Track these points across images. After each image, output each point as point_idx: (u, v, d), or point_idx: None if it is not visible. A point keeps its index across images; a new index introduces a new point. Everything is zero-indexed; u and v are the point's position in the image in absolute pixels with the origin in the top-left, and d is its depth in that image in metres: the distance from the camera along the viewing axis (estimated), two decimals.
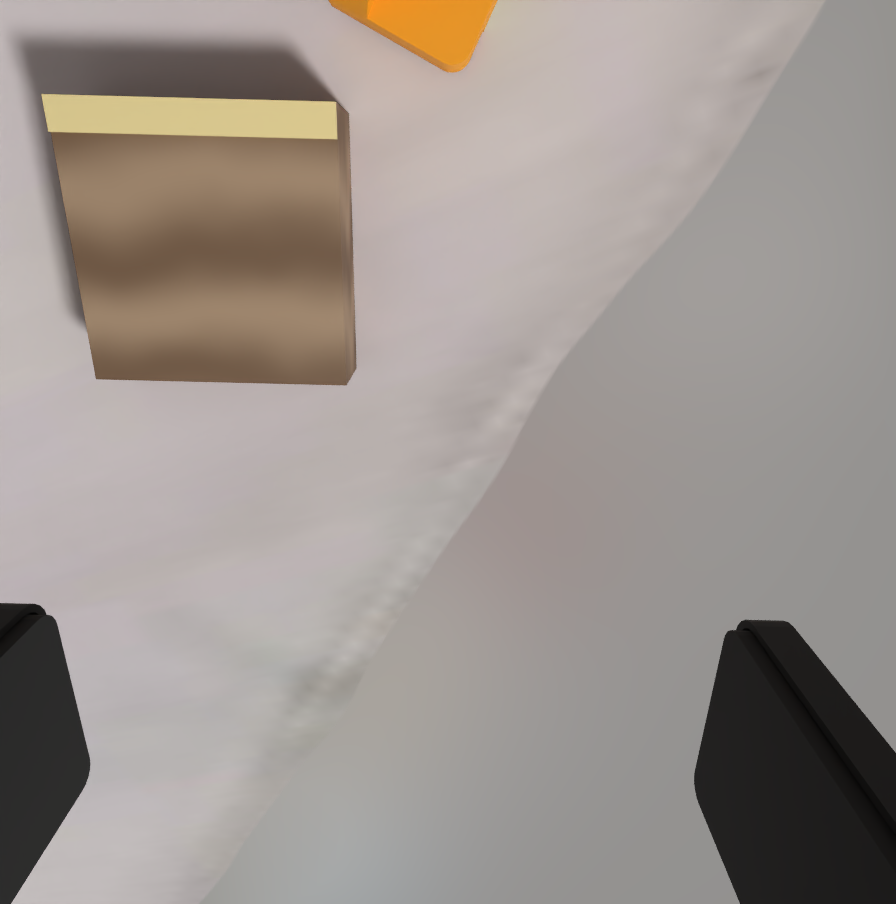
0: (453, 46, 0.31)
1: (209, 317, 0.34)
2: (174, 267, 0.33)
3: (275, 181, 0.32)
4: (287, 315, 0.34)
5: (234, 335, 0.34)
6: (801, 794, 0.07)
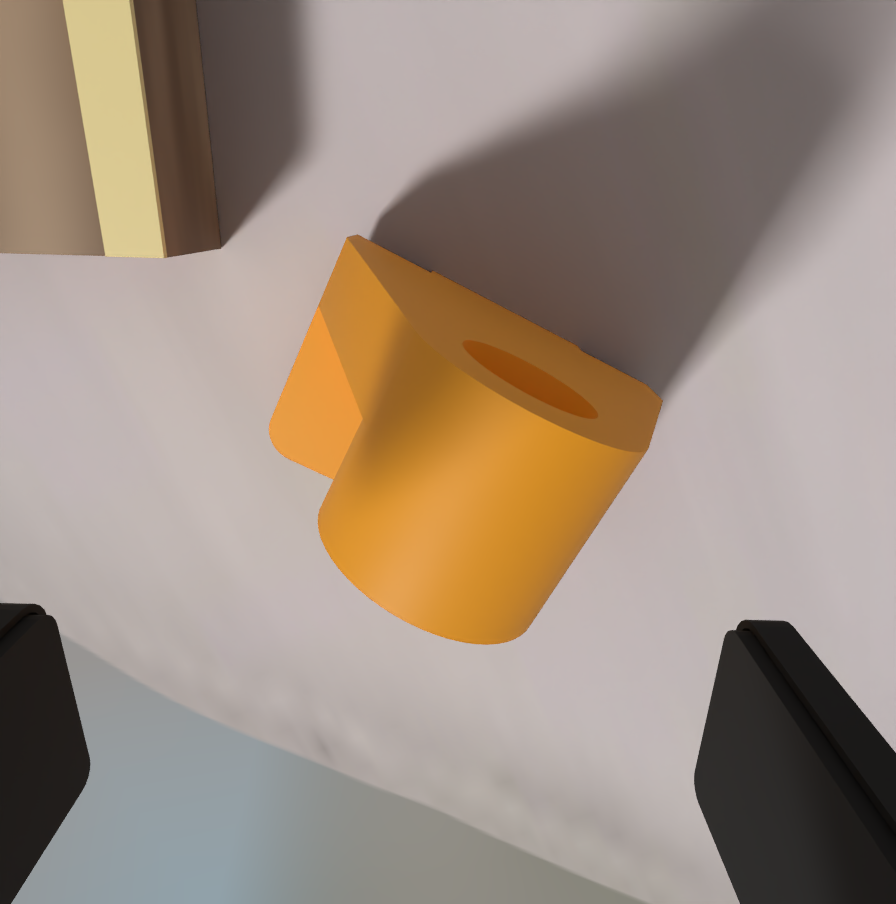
0: (293, 434, 0.20)
1: None
2: None
3: (11, 123, 0.16)
4: None
5: None
6: (801, 794, 0.07)
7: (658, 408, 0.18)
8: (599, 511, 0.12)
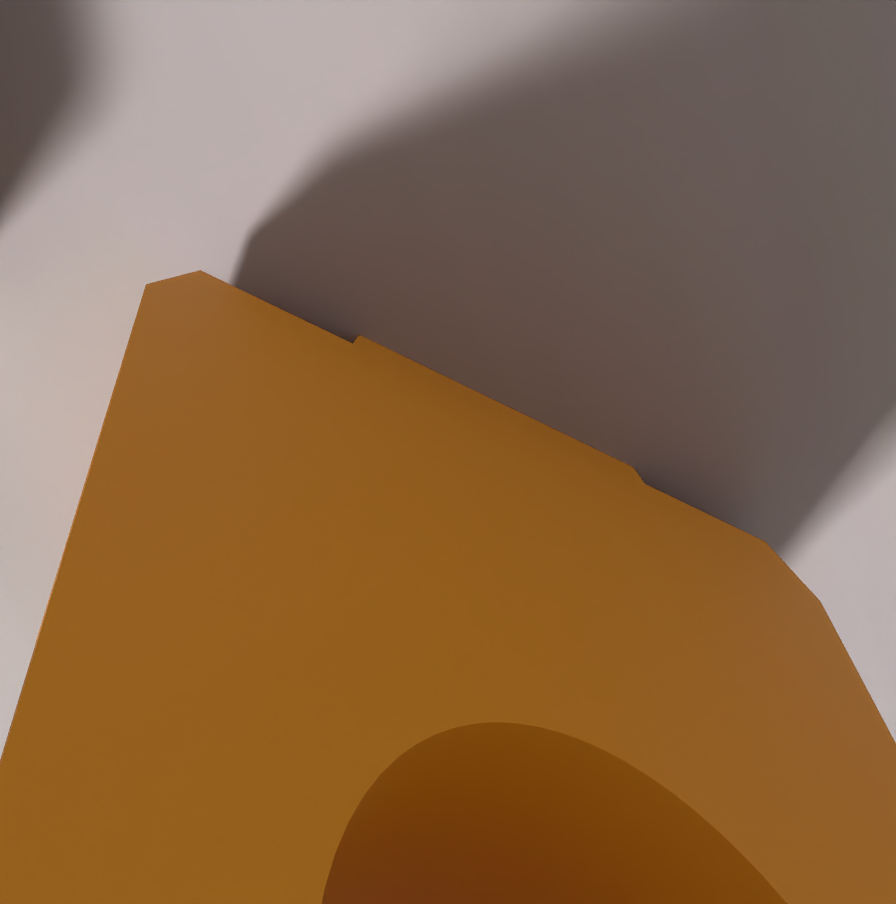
0: None
1: None
2: None
3: None
4: None
5: None
6: None
7: (855, 671, 0.08)
8: None
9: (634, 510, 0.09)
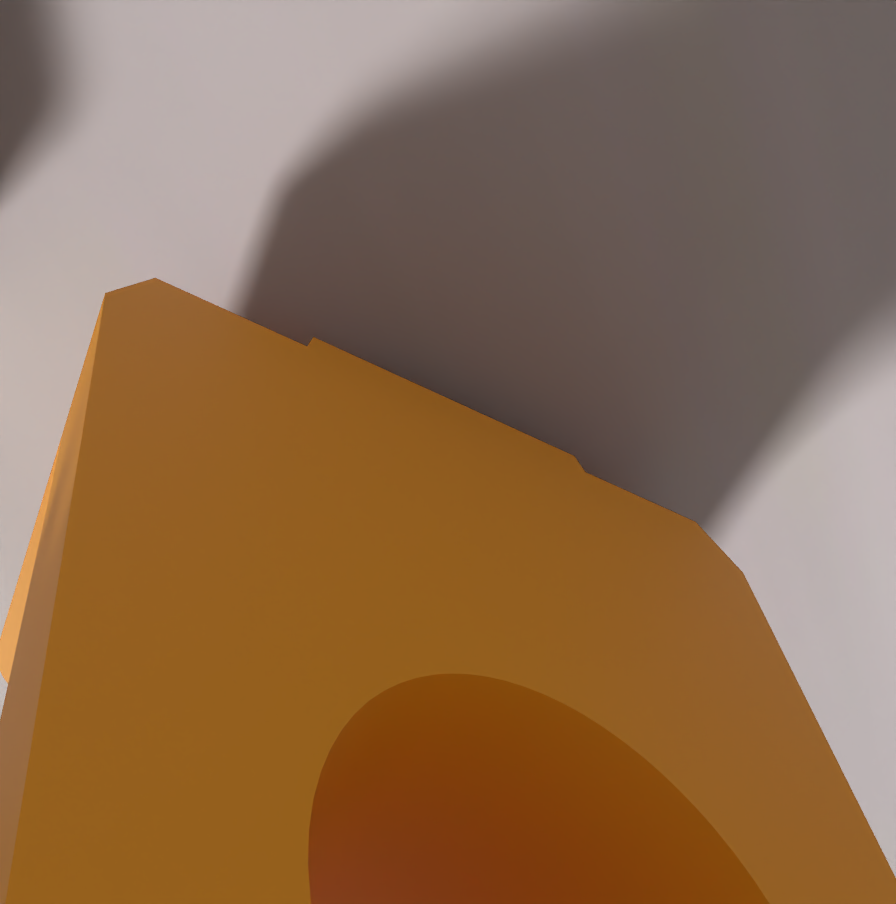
0: None
1: None
2: None
3: None
4: None
5: None
6: None
7: (769, 630, 0.09)
8: None
9: (575, 496, 0.10)
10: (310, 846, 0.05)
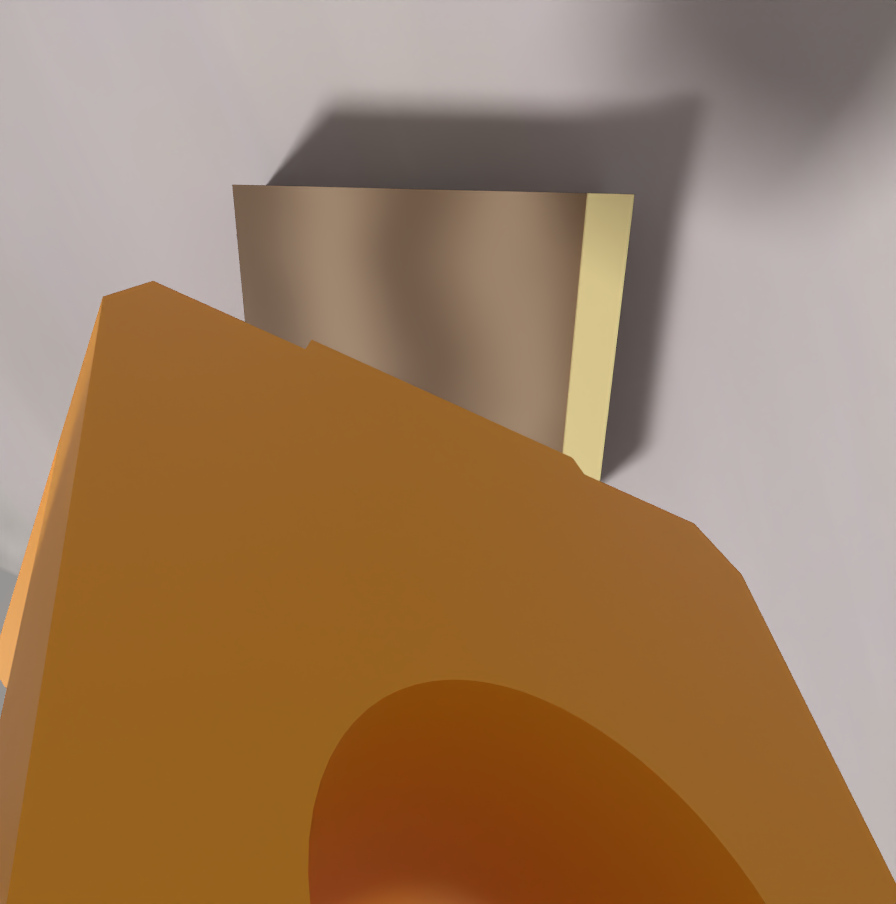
0: None
1: None
2: (408, 338, 0.24)
3: None
4: None
5: None
6: None
7: (768, 633, 0.09)
8: None
9: (574, 498, 0.10)
10: (310, 853, 0.05)
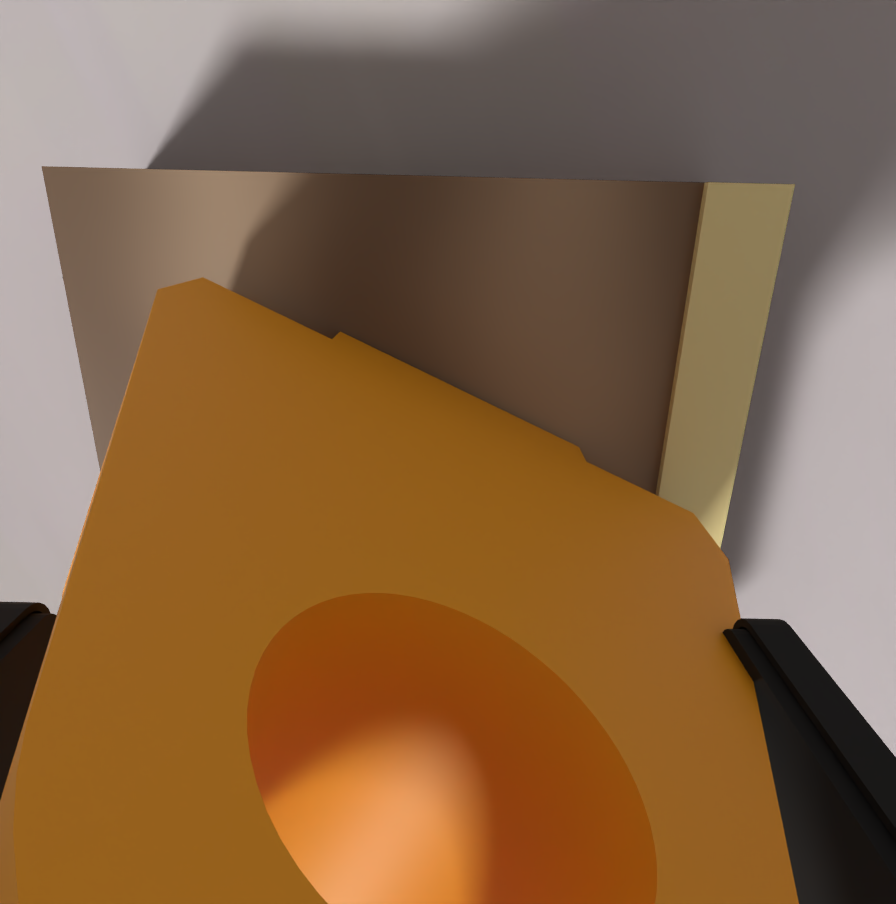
0: None
1: None
2: None
3: None
4: None
5: None
6: (796, 791, 0.07)
7: (735, 607, 0.09)
8: None
9: (567, 480, 0.11)
10: (285, 729, 0.06)
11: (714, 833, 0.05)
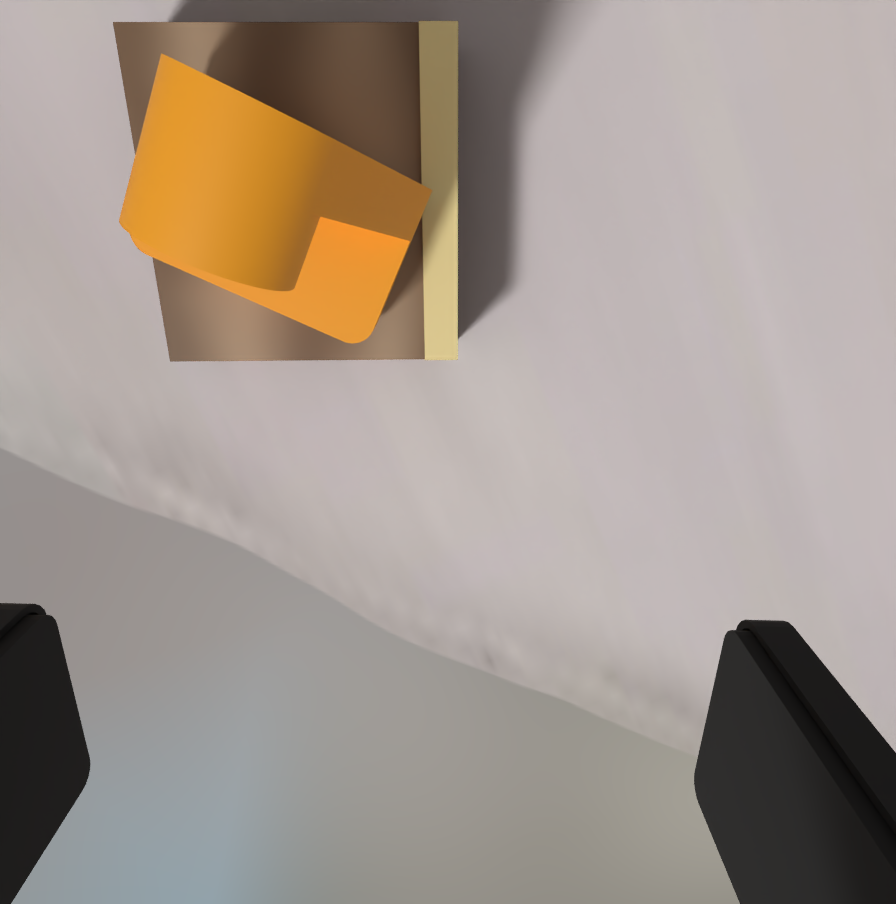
0: None
1: None
2: None
3: None
4: (241, 297, 0.30)
5: None
6: (801, 795, 0.07)
7: None
8: (297, 178, 0.18)
9: None
10: None
11: None
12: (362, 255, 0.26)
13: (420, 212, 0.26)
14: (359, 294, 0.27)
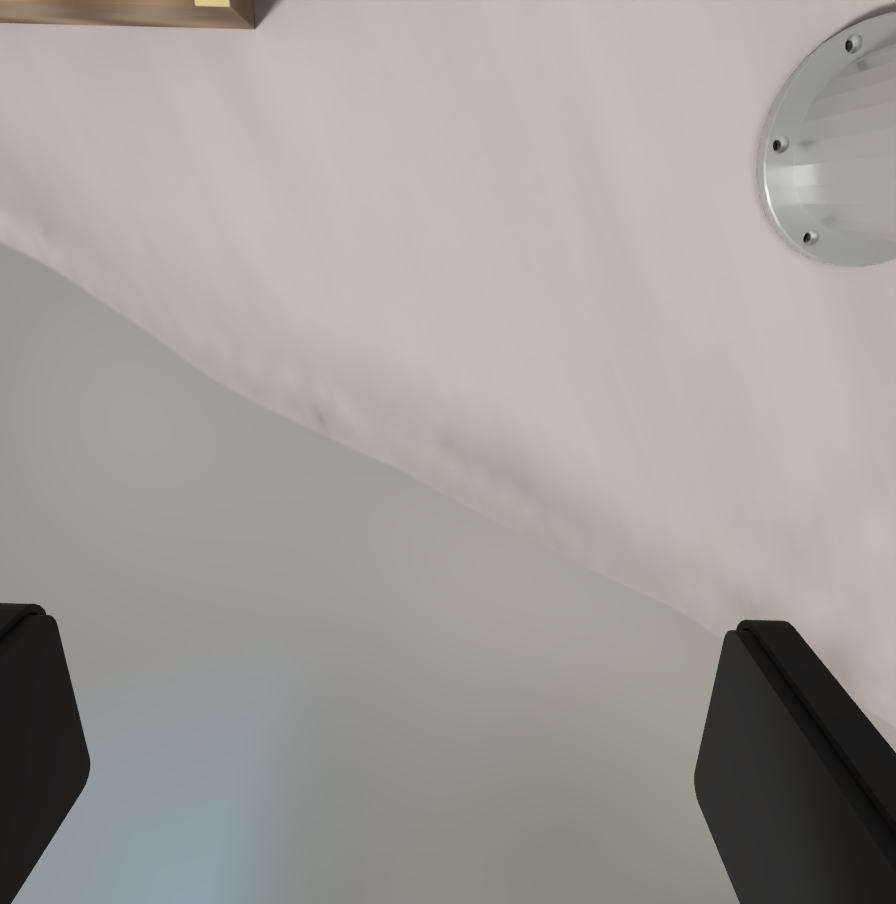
0: None
1: None
2: None
3: None
4: None
5: None
6: (801, 794, 0.07)
7: None
8: None
9: None
10: None
11: None
12: None
13: None
14: None
